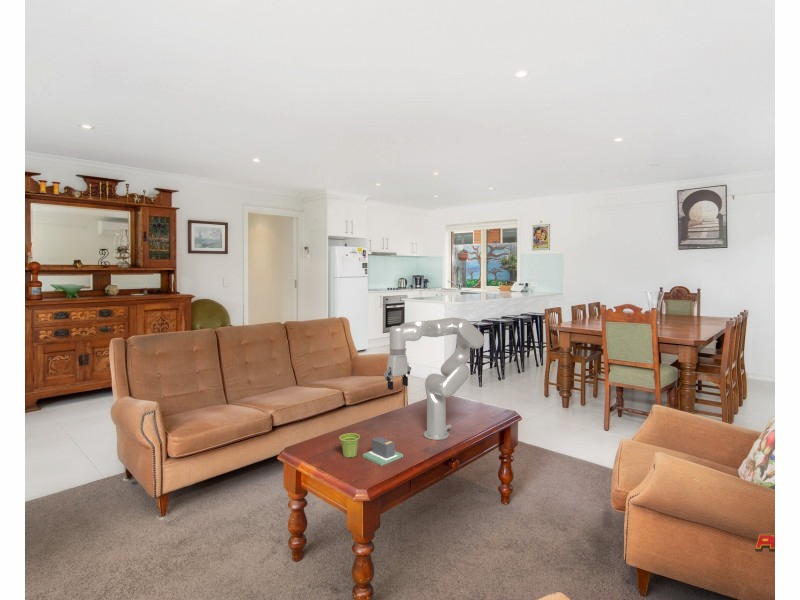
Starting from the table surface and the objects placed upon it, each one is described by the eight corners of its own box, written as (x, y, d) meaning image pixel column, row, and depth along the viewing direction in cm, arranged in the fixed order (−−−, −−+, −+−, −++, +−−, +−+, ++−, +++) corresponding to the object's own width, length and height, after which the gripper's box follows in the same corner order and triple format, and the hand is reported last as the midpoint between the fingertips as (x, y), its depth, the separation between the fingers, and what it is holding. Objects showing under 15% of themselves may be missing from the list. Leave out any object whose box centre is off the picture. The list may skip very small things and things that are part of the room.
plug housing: (380, 449, 212) (379, 436, 212) (394, 455, 205) (394, 442, 204) (371, 452, 209) (371, 438, 208) (386, 458, 201) (386, 445, 201)
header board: (383, 448, 216) (383, 437, 215) (403, 456, 207) (403, 445, 206) (362, 456, 207) (362, 445, 206) (381, 465, 198) (381, 453, 197)
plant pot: (335, 456, 207) (334, 438, 207) (348, 449, 215) (348, 431, 215) (351, 461, 202) (350, 442, 202) (364, 453, 210) (364, 435, 209)
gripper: (405, 348, 225) (405, 382, 227) (378, 353, 214) (379, 389, 215) (415, 350, 220) (416, 385, 221) (389, 355, 208) (389, 392, 209)
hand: (397, 387), depth 218 cm, fingers open, 9 cm apart
